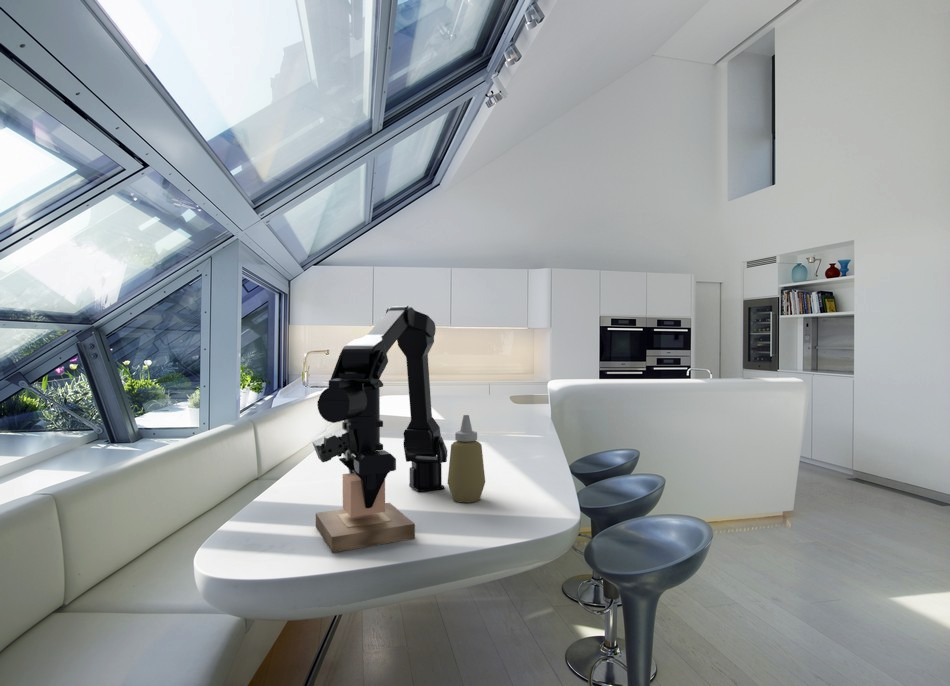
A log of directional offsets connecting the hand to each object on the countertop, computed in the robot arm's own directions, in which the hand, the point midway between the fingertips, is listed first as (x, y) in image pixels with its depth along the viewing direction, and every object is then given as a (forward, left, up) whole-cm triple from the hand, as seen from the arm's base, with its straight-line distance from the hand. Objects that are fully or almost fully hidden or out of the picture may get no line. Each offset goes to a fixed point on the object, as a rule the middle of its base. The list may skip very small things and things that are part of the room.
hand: (363, 503), depth 97 cm
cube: (0, 0, -1) cm, 1 cm away
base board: (0, 0, -5) cm, 5 cm away
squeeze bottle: (-25, -10, -5) cm, 27 cm away
